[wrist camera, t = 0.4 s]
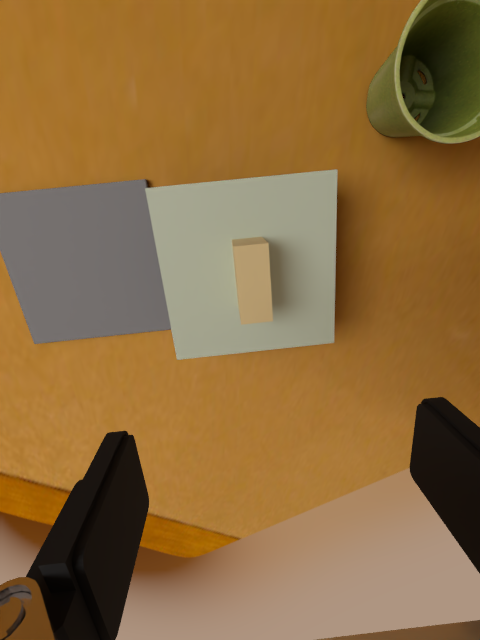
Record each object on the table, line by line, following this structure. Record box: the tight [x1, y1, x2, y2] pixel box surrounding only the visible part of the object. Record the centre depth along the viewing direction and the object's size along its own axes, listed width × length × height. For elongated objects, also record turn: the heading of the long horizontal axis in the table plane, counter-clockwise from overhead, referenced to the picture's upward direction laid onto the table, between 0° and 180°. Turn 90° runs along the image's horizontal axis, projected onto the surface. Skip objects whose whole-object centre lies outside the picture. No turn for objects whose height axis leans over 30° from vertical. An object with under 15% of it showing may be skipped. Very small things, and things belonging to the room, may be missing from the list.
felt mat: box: [0, 179, 171, 344], centre depth 32 cm, size 15×15×1 cm
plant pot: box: [366, 0, 480, 144], centre depth 24 cm, size 9×9×9 cm
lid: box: [145, 170, 337, 360], centre depth 26 cm, size 15×15×5 cm
